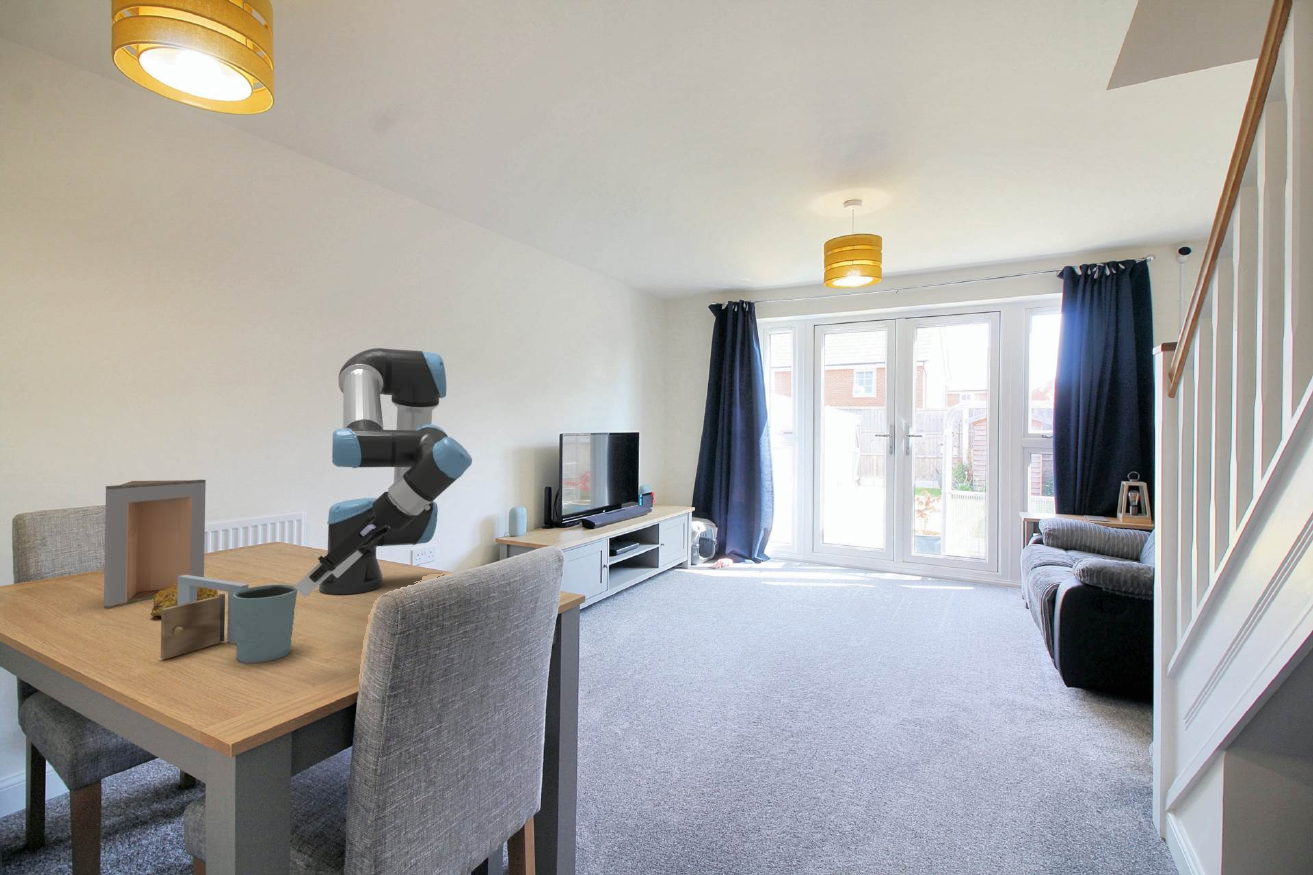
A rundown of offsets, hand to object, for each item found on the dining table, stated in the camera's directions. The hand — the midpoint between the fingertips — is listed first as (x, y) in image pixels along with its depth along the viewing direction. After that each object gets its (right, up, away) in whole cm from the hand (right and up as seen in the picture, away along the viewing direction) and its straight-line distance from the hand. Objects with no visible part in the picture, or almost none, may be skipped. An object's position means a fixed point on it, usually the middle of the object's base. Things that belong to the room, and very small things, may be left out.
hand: (317, 581), depth 113 cm
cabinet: (-62, -12, +34) cm, 72 cm away
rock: (-43, -13, +22) cm, 50 cm away
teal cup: (-10, -14, 0) cm, 17 cm away
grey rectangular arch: (-26, -13, +7) cm, 30 cm away
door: (-23, -13, 0) cm, 26 cm away
